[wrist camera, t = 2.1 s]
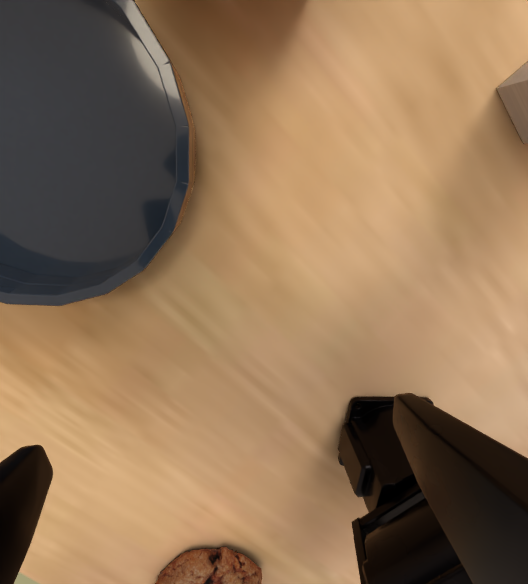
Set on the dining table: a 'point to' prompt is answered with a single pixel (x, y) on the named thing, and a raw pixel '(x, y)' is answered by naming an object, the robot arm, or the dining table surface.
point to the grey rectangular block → (517, 100)
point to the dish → (86, 148)
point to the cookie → (211, 568)
